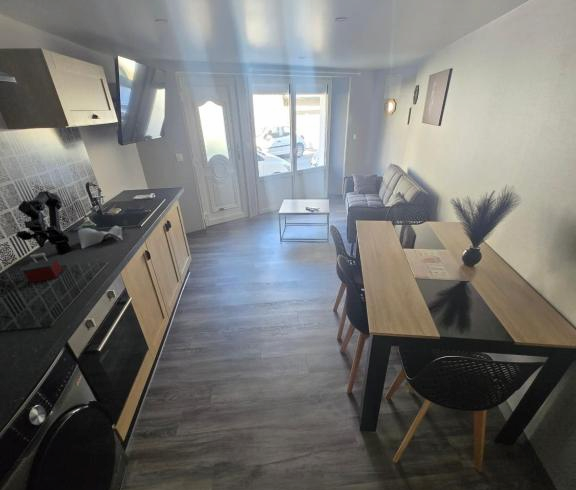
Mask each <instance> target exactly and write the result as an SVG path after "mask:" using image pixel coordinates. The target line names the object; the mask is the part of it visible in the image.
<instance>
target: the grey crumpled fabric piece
mask: <svg viewBox="0 0 576 490" xmlns="http://www.w3.org/2000/svg"><path fill="white" fill-rule="evenodd" d="M122 231H123V232H124V233H126V231H125V229H124V228H123V227H122V226H119V225H114V226H112V227H111V228H110V229H109V230H108V232H107V231H98V230H97V229H93V228H90V227H85V228H81V229H78V230H77V232H78V238H79V243H80V247H81V249H82V250H83V249H85V248H88V247H90V246H93V245H97V244H100V243H101V242H102V241H103V240H105V241H107V240H108V237H109V236H110V237H112V238H113V239H114V240H115V241H119V239H120V240H122V241H124V238H123V233H122Z"/></svg>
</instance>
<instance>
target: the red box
mask: <svg viewBox="0 0 576 490" xmlns="http://www.w3.org/2000/svg"><path fill="white" fill-rule="evenodd" d="M62 271H63V268H62V266H61V264H60V263H59V261H58V258H57V259H56V261H55V262H54V263H53V265H52V266H51V267H49V268H43V269H38V270H32V271H27V272H23V274H24V275H25V277H26V279H27V280H28V282H29V284H30V283H31V284H32V283H37V282H41V281H42V282H43V281H47V280H52V279H57V278H58V277H59V275H60V274H61V272H62Z"/></svg>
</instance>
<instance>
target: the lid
mask: <svg viewBox="0 0 576 490" xmlns="http://www.w3.org/2000/svg"><path fill="white" fill-rule="evenodd" d="M41 257H42V258H43V259H40V260H36V258H41ZM30 258H31V259H32V260H33V261H29V263H28V264H27V265H26V267H24V269H23V270H22V273H24V272H27V271H32V270H38V269H43V268H49V267H51V266H52V265H53V263H54V262H55V261H56V259H57V260H58V258H57V257H52V258H47V257H46V253H44V252H41V253H35V254H30Z"/></svg>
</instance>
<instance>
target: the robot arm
mask: <svg viewBox="0 0 576 490" xmlns="http://www.w3.org/2000/svg"><path fill="white" fill-rule="evenodd" d="M62 202H63V201H62V198H61V197H60V196H58V195H57V194H55V193H52V192H50V191H49V190H44V191H39V192H38V194H37V195H36V196H35V198H33V199H30V200H22V201H21V202H20V204H19V205H18V208H17V209H18V210H19V212H20V213H22V214H23V215H25V216H26V217H28V218H30V220H28V221H23V224H24V226H25V229H28V230H29V232H28V231H27V230H19V231H16V237H18V238H19V239H21V240H22V241H30V240H32V239H34V240H35V242H36V243H37V244H38V246H39V248H43V247H44V245H45V244H46V242H47V241H48V243H50V244H51V246H53V245H54V248H55V250H56V252H57V253H58V254H61V255H64V254H67V253H69V252H72V251H74V249H73V248H71V246H70V243H69V242H70V238H69V236H68V235H66V234H65V233H64V232H63V230H61V223H60V221H61V220H60V211H59V210H60V209H61V208H62ZM46 207H47V208H48V217H49V226H47V225H46V223H45V218H46V216H45V214H44V213H43V212H41V211H45V209H46Z"/></svg>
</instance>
